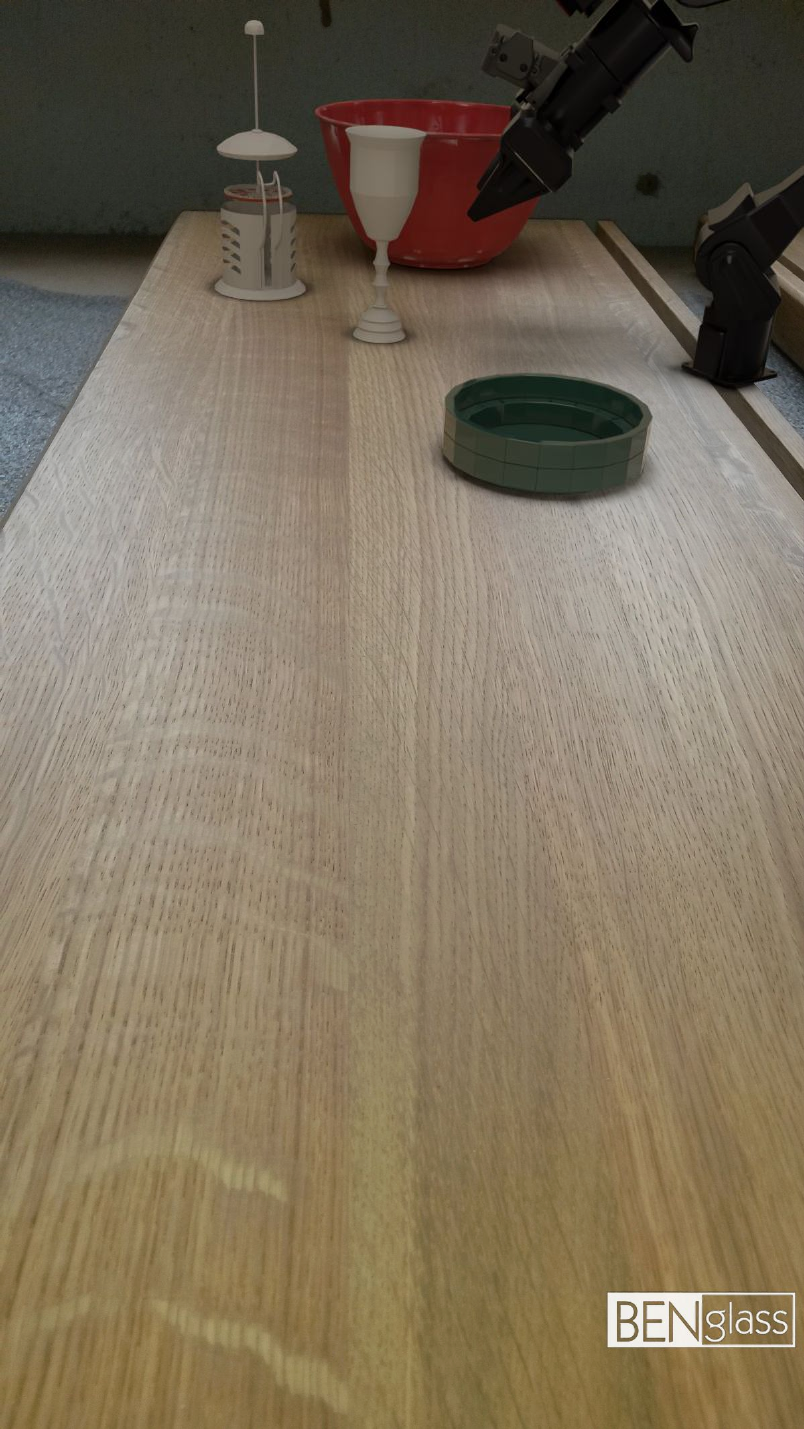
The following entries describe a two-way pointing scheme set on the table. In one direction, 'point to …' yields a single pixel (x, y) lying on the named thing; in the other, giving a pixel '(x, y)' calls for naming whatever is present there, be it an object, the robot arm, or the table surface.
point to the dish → (545, 432)
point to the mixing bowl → (433, 178)
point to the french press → (259, 218)
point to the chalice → (383, 208)
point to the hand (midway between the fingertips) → (475, 203)
